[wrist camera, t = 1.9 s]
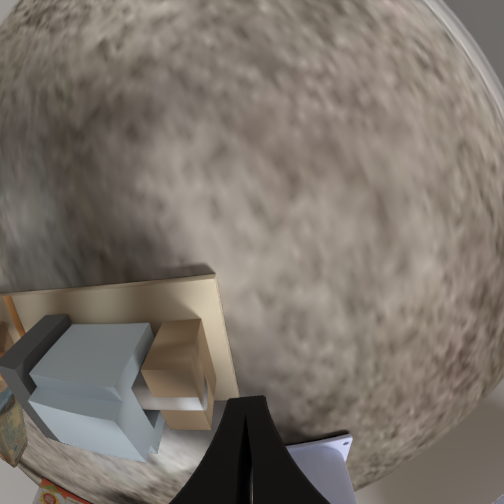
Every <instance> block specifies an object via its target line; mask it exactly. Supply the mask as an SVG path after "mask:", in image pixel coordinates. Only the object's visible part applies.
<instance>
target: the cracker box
mask: <svg viewBox="0 0 504 504" xmlns="http://www.w3.org/2000/svg"><path fill="white" fill-rule="evenodd" d="M33 504H91V503H89V502H87V501H85V500H83V499H81V498H79V497H77V496H75V495H73V494H71V493H69V492H67V491H65V490H64V489H62V488H60V487H58V486H57V485H55V484H53V483H52V482H50V481H49V480H47V479H45V478H43V480H42V482H41V484H40V487H39V489H38V491H37V494H36V496H35V499H34V501H33Z"/></svg>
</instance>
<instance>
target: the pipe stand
mask: <svg viewBox="0 0 504 504" xmlns="http://www.w3.org/2000/svg"><path fill="white" fill-rule="evenodd" d="M45 315H68V318H69V320H70V323H71V325H72V324H131V323H149V324H150V327H151V330H152V333H153V336H154V341H153V343H152V346H151V348H150V350H149V352H148V354H147V356H146V358H145V361H144V363H143V365H142V367H141V368H140V369H139V372H138V374H137V376H136V378H135V380H134V383H133V385H132V387H131V389H132V391H133V393H134V395H135V397H136V399H137V401H138V402H139V404H140V406H141V408H142V409H148V410H160V412H161V414H162V415H163V417H164V419H165V421H166V423H167V425H168V426H169V428H170V429H173V430H211V425H212V415H213V405H214V401H223V400H228V399H229V398H238V397H239V389H238V384H237V380H236V375H235V370H234V366H233V361H232V356H231V351H230V346H229V341H228V336H227V331H226V326H225V321H224V316H223V310H222V305H221V300H220V294H219V289H218V283H217V277H216V274H209V275H200V276H191V277H182V278H172V279H162V280H153V281H143V282H132V283H122V284H111V285H100V286H89V287H77V288H65V289H53V290H40V291H27V292H12V293H0V358H1V357H2V356H3V355H4V354H5V353H6V352H7V351H8V350H9V349H10V348H11V347H12V346H13V345H14V344H15V343H16V342H17V341H18V340H19V339H20V338H21V337H22V336H23V335H24V334H25V333H27V332H28V331H29V330H30V329H31V328H32V327H33V326H34V325H35V324H36V323H37V322H38V321H39V320H41V319H42V318H43V317H44V316H45ZM7 386H8V385H7V384H6V382H5V381H4V379H3V377H2V376H1V374H0V392H2V393H3V391H4V390H5V389H6V388H7Z"/></svg>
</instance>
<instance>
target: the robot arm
mask: <svg viewBox="0 0 504 504" xmlns="http://www.w3.org/2000/svg"><path fill="white" fill-rule="evenodd" d="M351 442H352V435H351V434H346V435H342V436H338V437H333V438H329V439H324V440H319V441H314V442H309V443H303V444H297V445H290V446H285V445H284V443H283V441H282V439H281V437H280V435H279V433H278V432H277V430H276V427H275V425H274V423H273V420H272V418H271V415H270V413H269V410H268V406H267V402H266V397H265V396H263V395H261V396H250V397H238V398H229V399H228V400H227V404H226V407H225V411H224V414H223V416H222V419H221V422H220V424H219V427H218V429H217V431H216V433H215V436H214V438H213V440H212V442H211V444H210V446H209V448H208V450H207V452H206V453H205V455H204V457H203V459H202V460H201V462H200V464H199V465H198V467H197V469H196V470H195V472H194V473H193V475H192V476H191V477H190V479H189V480H188V482H187V483H186V484H185V485H184V487H183V488H182V489H181V490H180V492H179V493H178V494H177V495H176V496H175V498H174V499H173V500H172V501H171V502H170V503H169V504H252V482H253V504H357V501H356V497H355V494H354V490H353V487H352V483H351V480H350V477H349V473H348V470H347V467H346V464H345V461H346V458H347V455H348V452H349V449H350V445H351ZM492 504H504V494H503V495H502V496H501V497H500V498H498V499H497V500H496V501H494V502H493V503H492Z"/></svg>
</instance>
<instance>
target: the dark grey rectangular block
mask: <svg viewBox="0 0 504 504" xmlns="http://www.w3.org/2000/svg"><path fill="white" fill-rule="evenodd" d="M70 327H71V323H70V320H69V318H68V315H45V316H44V317H43V318H42V319H41V320H39V321H38V322H37V323H36V324H35V325H34V326H33V327H32V328H31V329H30V330H29V331H28V332H27V333H25V334H24V335H23V336H22V337H21V338H20V339H19V340H18V341H17V342H16V343H15V344H14V345H13V346H12V347H11V348H10V349H9V350H8V351H7V352H6V353H5V354H4V355H3V356H2V357H1V358H0V374H1V376H2V377H3V379H4V381H5V382H6V384H7V385H8V387H9V388H10V390H11V391H12V393H13V394H14V396H15V397H16V399H17V400H18V402H19V403H20V405H21V406H22V407H23V409H24V410H25V411H26V413H27V414H28V415H29V417H30V418H31V419H32V421H33V422H34V423H35V424H36V426H37V427H38V428H39V429H40V430H41V432H42V433H43V434H44V435H45V436H46V437H47V438H50V439H53V440H56V441H58V442H60V441H59V440H58V439H57V437H56V436H55V435H54V434H53V433H52V431H51V430H50V429H49V428H48V427H47V425H46V424H45V423H44V422H43V420H42V419H41V418H40V416H39V415H38V414H37V412H36V411H35V410H34V408H33V407H32V406H31V404H30V403H29V401H28V399H29V398H30V396H31V395H32V393H33V392H34V391H35V389H36V388H37V386H36V384H35V382H34V381H33V379H32V377H31V376H30V374H29V373H30V372H31V371H32V369H33V368H34V367H35V366H36V365H37V363H38V362H39V361H40V360H41V359H42V358H43V356H44V355H45V354H46V353H47V352H48V351H49V350H50V348H51V347H52V346H53V345H54V344H55V343H56V342H57V341H58V340H59V338H60V337H61V336H62V335H63V334H64V333H65V332H66V331H67V330H68V329H69V328H70ZM61 443H62V442H61ZM64 444H65V443H64ZM67 445H68V444H67Z"/></svg>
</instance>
